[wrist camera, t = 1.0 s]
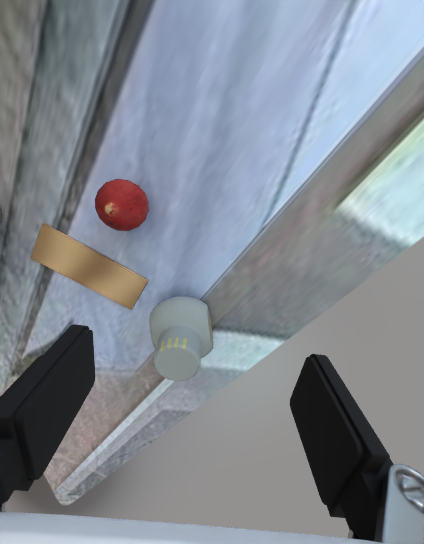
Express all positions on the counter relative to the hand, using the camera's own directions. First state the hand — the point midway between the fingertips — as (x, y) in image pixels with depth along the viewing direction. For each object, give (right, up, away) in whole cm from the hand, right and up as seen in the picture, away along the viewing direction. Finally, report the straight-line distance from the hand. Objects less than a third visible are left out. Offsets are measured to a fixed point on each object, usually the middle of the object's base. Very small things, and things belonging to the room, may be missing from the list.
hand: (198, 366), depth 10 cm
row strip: (-17, +5, +24) cm, 30 cm away
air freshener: (-4, -3, +28) cm, 28 cm away
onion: (-10, +13, +21) cm, 27 cm away
